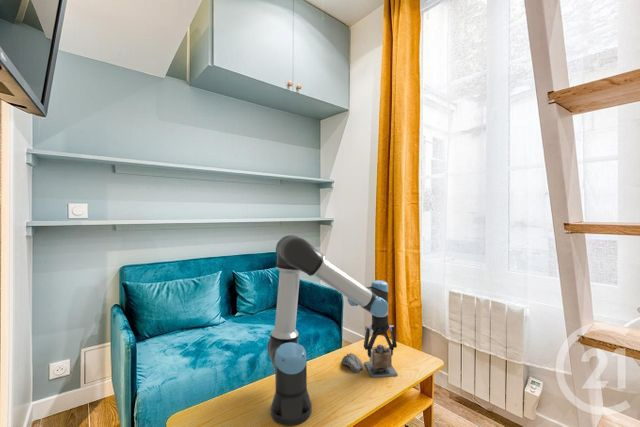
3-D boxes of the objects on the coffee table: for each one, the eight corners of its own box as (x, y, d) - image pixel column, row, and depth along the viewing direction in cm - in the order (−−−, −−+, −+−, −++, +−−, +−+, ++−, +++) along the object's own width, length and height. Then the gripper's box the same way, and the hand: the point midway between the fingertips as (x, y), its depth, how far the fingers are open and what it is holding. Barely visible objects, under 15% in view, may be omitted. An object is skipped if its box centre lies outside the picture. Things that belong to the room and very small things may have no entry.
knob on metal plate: (371, 377, 132) (371, 353, 132) (364, 363, 144) (364, 341, 144) (397, 375, 133) (397, 351, 133) (388, 361, 145) (388, 339, 145)
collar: (374, 368, 134) (374, 355, 134) (369, 359, 142) (369, 347, 142) (391, 367, 135) (391, 354, 135) (385, 358, 143) (385, 346, 143)
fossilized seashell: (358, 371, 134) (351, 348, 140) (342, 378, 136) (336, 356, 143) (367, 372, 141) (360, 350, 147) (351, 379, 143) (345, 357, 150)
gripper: (360, 318, 133) (360, 368, 134) (404, 316, 136) (404, 365, 136) (356, 312, 141) (356, 360, 141) (398, 310, 143) (398, 357, 143)
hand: (380, 362), depth 138 cm, fingers closed on collar, 8 cm apart
